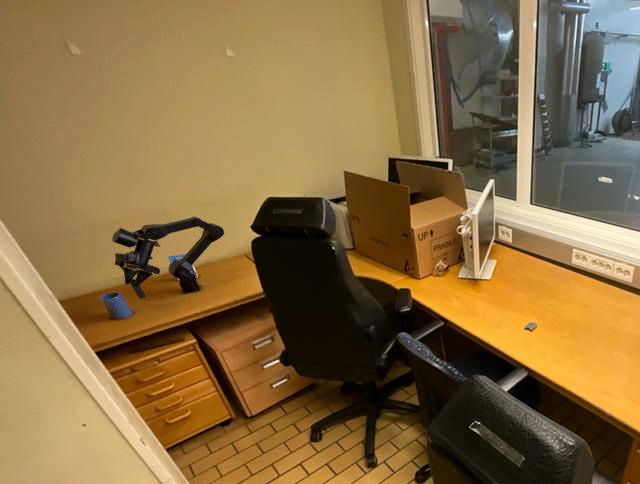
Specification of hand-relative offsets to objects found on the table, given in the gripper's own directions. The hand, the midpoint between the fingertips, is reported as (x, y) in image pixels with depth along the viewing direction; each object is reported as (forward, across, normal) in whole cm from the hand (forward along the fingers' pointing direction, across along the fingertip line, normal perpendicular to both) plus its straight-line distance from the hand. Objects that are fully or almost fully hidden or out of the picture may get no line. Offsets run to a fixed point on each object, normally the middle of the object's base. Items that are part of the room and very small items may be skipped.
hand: (131, 284), depth 173 cm
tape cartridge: (-12, -10, +31) cm, 35 cm away
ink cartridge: (+4, 0, +6) cm, 7 cm away
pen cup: (+14, -4, +4) cm, 15 cm away
